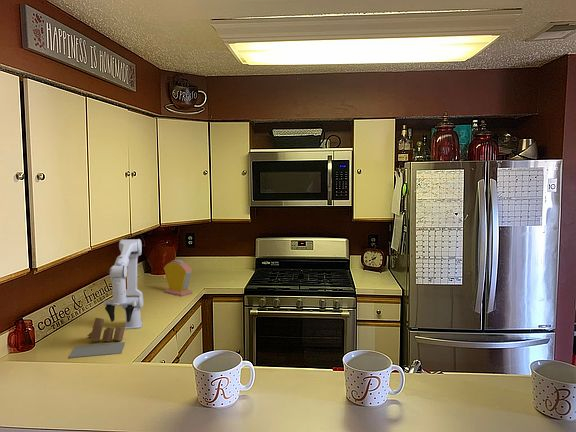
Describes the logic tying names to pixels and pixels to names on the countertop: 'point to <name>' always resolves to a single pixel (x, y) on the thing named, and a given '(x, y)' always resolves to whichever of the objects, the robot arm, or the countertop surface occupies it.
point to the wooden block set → (105, 332)
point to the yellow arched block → (178, 277)
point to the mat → (97, 350)
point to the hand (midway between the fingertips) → (120, 321)
